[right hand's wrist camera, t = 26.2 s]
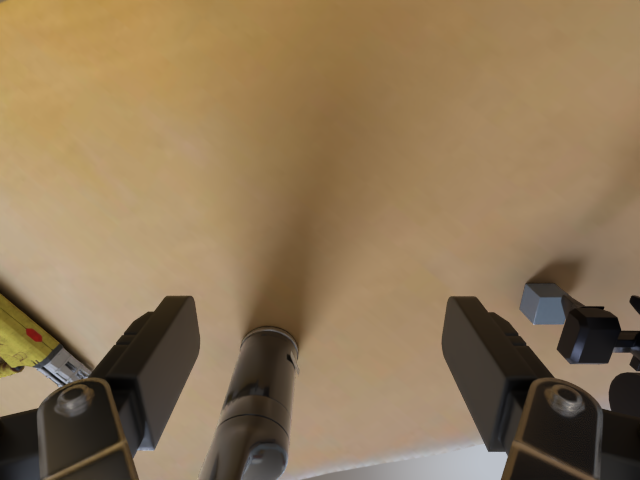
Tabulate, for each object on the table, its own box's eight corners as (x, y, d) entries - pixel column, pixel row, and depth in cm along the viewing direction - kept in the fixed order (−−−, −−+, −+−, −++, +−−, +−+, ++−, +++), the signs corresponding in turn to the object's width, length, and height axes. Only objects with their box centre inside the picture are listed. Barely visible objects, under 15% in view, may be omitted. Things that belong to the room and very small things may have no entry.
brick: (547, 309, 57) (564, 324, 54) (519, 309, 57) (533, 324, 54) (554, 283, 56) (571, 297, 52) (525, 283, 56) (540, 297, 52)
